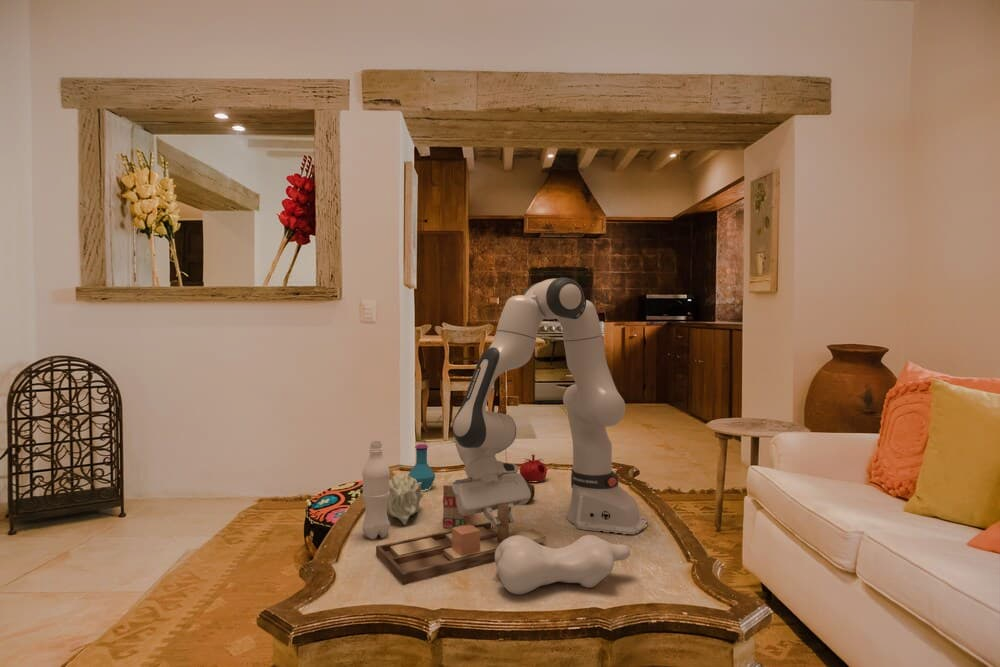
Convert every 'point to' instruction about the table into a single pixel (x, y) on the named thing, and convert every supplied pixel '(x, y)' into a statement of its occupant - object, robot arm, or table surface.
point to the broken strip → (427, 544)
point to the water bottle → (376, 493)
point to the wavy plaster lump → (404, 497)
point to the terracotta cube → (465, 539)
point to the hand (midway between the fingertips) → (504, 523)
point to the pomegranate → (533, 470)
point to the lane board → (431, 558)
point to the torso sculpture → (555, 562)
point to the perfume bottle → (422, 468)
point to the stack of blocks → (453, 505)
